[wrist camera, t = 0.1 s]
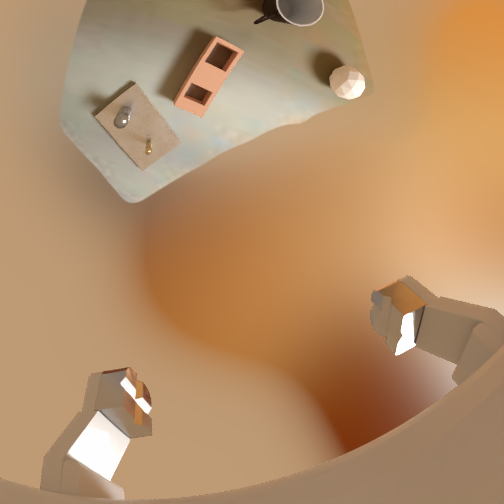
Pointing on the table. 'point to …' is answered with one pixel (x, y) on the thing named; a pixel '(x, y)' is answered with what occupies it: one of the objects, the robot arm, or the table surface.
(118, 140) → the post plate
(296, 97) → the table surface
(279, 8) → the coffee mug
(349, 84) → the geometric ball
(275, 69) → the table surface
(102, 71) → the table surface
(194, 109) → the link
